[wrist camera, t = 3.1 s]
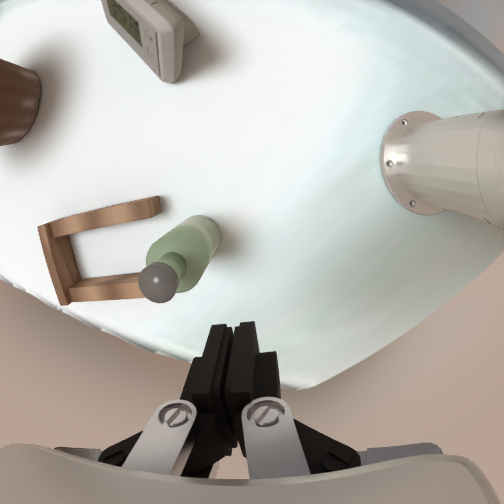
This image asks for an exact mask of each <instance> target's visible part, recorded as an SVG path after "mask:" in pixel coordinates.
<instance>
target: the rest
mask: <svg viewBox="0 0 504 504" xmlns="http://www.w3.org/2000/svg"><path fill="white" fill-rule="evenodd" d="M159 213H161V207H160V201H159V196H155V197H150V198H145V199H140V200H135V201H131V202H126V203H122V204H117V205H113V206H109V207H104V208H100V209H96V210H92V211H88V212H84V213H80V214H76V215H72V216H69V217H65V218H61V219H57V220H55V221H52V222H49V223H46V224H43V225H41V226H38V232H39V236H40V240H41V244H42V248H43V252H44V256H45V259H46V263H47V266H48V270H49V273H50V276H51V279H52V282H53V285H54V288H55V291H56V294H57V297H58V300H59V303H60V305H61V306H63V305H69V304H70V303H71V302H84V301H102V300H119V299H133V298H146V297H145V296H144V295H143V294H142V292H141V290H140V288H139V283H138V279H139V275H140V273H141V272H140V273H131V274H122V275H113V276H104V277H94V278H85V279H80V276H79V273H78V270H77V266H76V263H75V259H74V255H73V252H72V248H71V244H70V240H69V236H68V234H72V233H77V232H82V231H86V230H91V229H96V228H101V227H106V226H111V225H116V224H121V223H126V222H131V221H136V220H142V219H147V218H151V217H153V216H155V215H157V214H159Z"/></svg>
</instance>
